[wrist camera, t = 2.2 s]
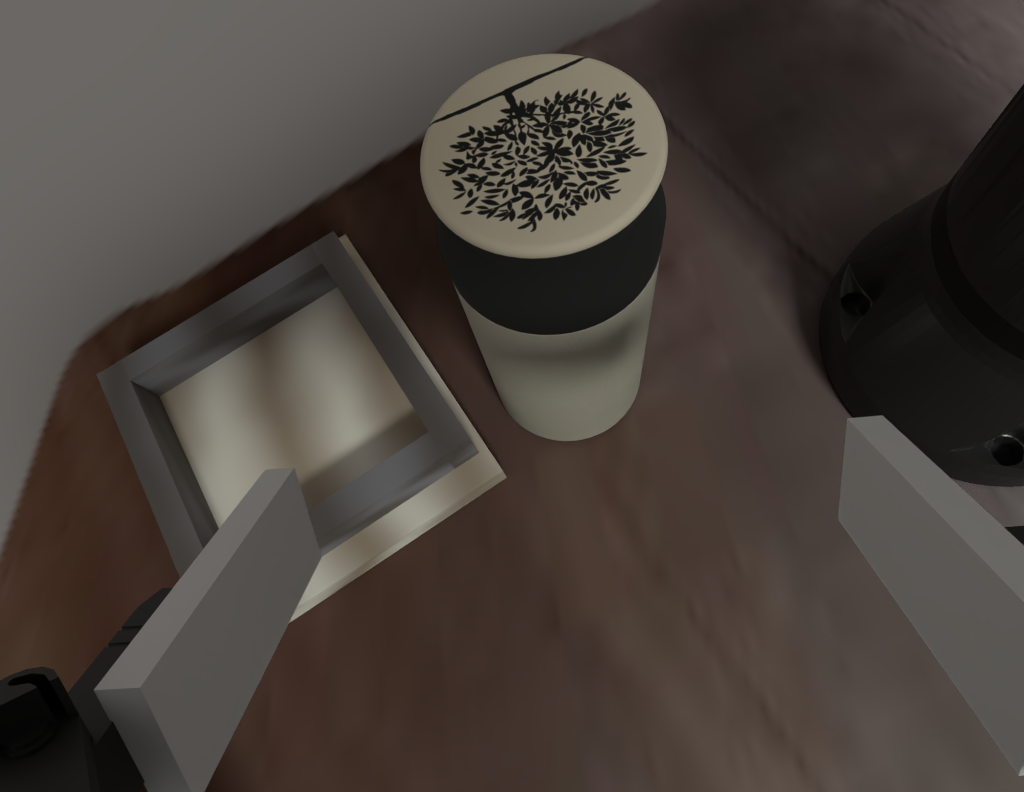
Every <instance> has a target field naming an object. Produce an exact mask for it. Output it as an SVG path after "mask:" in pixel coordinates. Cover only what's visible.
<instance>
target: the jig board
mask: <svg viewBox="0 0 1024 792" xmlns="http://www.w3.org/2000/svg"><path fill="white" fill-rule="evenodd" d="M97 377H98V379H99V382H100V384H101V386H102V389H103V391H104V394H105V396H106V399H107V401H108V404H109V406H110V408H111V411H112V413H113V416H114V418H115V421H116V423H117V425H118V428H119V430H120V433H121V435H122V438H123V440H124V443H125V445H126V447H127V450H128V452H129V455H130V457H131V460H132V462H133V464H134V467H135V469H136V472H137V474H138V477H139V479H140V482H141V484H142V486H143V489H144V491H145V494H146V496H147V499H148V501H149V503H150V506H151V508H152V511H153V513H154V516H155V518H156V520H157V523H158V525H159V528H160V530H161V533H162V535H163V538H164V540H165V542H166V545H167V547H168V550H169V552H170V555H171V557H172V559H173V562H174V564H175V567H176V569H177V572H178V574H179V577H180V578H181V577H182V576H183V575H184V573H185V572H186V571H187V569H188V568H189V567H190V566H191V564H192V563H193V562H194V560H195V559H196V558H197V557H198V555H199V554H200V553H201V551H202V550H203V549H204V548H205V546H206V545H207V544H208V542H209V541H210V540H211V539H212V537H213V536H214V535H215V533H216V532H217V531H218V530H219V528H220V527H221V526H222V524H223V523H224V522H225V521H226V519H227V518H228V517H229V515H230V514H231V513H232V512H233V510H234V509H235V508H236V506H237V505H238V504H239V503H240V501H241V500H242V499H243V497H244V496H245V495H246V494H247V492H248V491H249V490H250V488H251V487H252V486H253V485H254V483H255V482H256V481H257V479H258V478H259V477H260V476H261V474H262V473H263V472H264V470H268V469H279V468H291V467H295V470H296V474H297V477H298V480H299V484H300V487H301V490H302V494H303V497H304V500H305V503H306V507H307V510H308V513H309V517H310V520H311V523H312V527H313V530H314V533H315V536H316V540H317V543H318V546H319V550H320V553H321V556H322V558H321V560H320V562H319V564H318V566H317V568H316V570H315V572H314V574H313V576H312V578H311V580H310V582H309V584H308V586H307V588H306V590H305V592H304V594H303V596H302V598H301V600H300V602H299V604H298V606H297V608H296V610H295V612H294V614H293V616H292V618H291V620H290V622H291V621H293V620H294V619H296V618H297V617H299V616H300V615H302V614H303V613H305V612H306V611H308V610H309V609H311V608H312V607H314V606H315V605H317V604H318V603H320V602H321V601H323V600H324V599H326V598H327V597H329V596H330V595H332V594H333V593H335V592H336V591H338V590H339V589H341V588H342V587H344V586H345V585H347V584H348V583H350V582H351V581H353V580H354V579H356V578H357V577H359V576H360V575H362V574H363V573H365V572H366V571H368V570H369V569H371V568H372V567H374V566H375V565H377V564H378V563H380V562H381V561H383V560H384V559H386V558H387V557H389V556H390V555H392V554H393V553H395V552H396V551H398V550H399V549H401V548H402V547H404V546H405V545H407V544H408V543H410V542H411V541H413V540H414V539H416V538H417V537H419V536H420V535H422V534H423V533H425V532H426V531H428V530H429V529H431V528H432V527H434V526H435V525H437V524H438V523H440V522H441V521H443V520H444V519H445V518H447V517H448V516H450V515H451V514H453V513H454V512H456V511H457V510H459V509H460V508H462V507H463V506H465V505H466V504H468V503H469V502H471V501H472V500H474V499H475V498H477V497H478V496H480V495H481V494H483V493H484V492H486V491H487V490H489V489H490V488H492V487H493V486H495V485H496V484H498V483H499V482H501V481H502V480H504V479H505V478H507V477H506V476H505V474H504V472H503V470H502V469H501V467H500V466H499V464H498V463H497V461H496V460H495V458H494V457H493V455H492V454H491V452H490V451H489V449H488V448H487V446H486V445H485V443H484V442H483V440H482V439H481V437H480V436H479V434H478V433H477V431H476V430H475V428H474V427H473V425H472V424H471V422H470V421H469V419H468V418H467V416H466V415H465V413H464V412H463V410H462V409H461V407H460V406H459V404H458V403H457V401H456V400H455V398H454V397H453V395H452V394H451V392H450V391H449V389H448V388H447V386H446V385H445V383H444V382H443V380H442V379H441V377H440V376H439V374H438V373H437V371H436V370H435V368H434V367H433V365H432V364H431V362H430V361H429V359H428V358H427V356H426V355H425V353H424V352H423V350H422V349H421V347H420V346H419V344H418V343H417V341H416V340H415V338H414V337H413V335H412V334H411V332H410V331H409V329H408V328H407V326H406V325H405V323H404V322H403V320H402V319H401V317H400V316H399V314H398V313H397V311H396V310H395V308H394V307H393V305H392V304H391V302H390V301H389V299H388V298H387V296H386V295H385V293H384V292H383V290H382V289H381V287H380V286H379V284H378V283H377V281H376V280H375V278H374V277H373V275H372V274H371V272H370V271H369V269H368V268H367V266H366V265H365V263H364V262H363V260H362V259H361V257H360V256H359V254H358V253H357V251H356V250H355V248H354V247H353V245H352V243H351V242H350V240H349V239H348V237H347V236H346V234H345V235H343V236H342V237H340V238H338V237H337V235H336V234H335V232H334V231H332V232H331V233H329V234H327V235H326V236H324V237H323V238H321V239H319V240H318V241H316V242H314V243H313V244H311V245H309V246H308V247H306V248H304V249H303V250H301V251H299V252H298V253H296V254H295V255H293V256H291V257H290V258H288V259H286V260H285V261H283V262H281V263H280V264H278V265H276V266H275V267H273V268H271V269H270V270H268V271H267V272H265V273H263V274H262V275H260V276H258V277H257V278H255V279H253V280H252V281H250V282H248V283H247V284H245V285H243V286H242V287H240V288H238V289H237V290H235V291H234V292H232V293H230V294H229V295H227V296H225V297H224V298H222V299H220V300H219V301H217V302H215V303H214V304H212V305H210V306H209V307H207V308H206V309H204V310H202V311H201V312H199V313H197V314H196V315H194V316H192V317H191V318H189V319H187V320H186V321H184V322H182V323H181V324H179V325H178V326H176V327H174V328H173V329H171V330H169V331H168V332H166V333H164V334H163V335H161V336H159V337H158V338H156V339H154V340H153V341H151V342H150V343H148V344H146V345H145V346H143V347H141V348H140V349H138V350H136V351H135V352H133V353H131V354H130V355H128V356H126V357H125V358H123V359H121V360H120V361H118V362H117V363H115V364H113V365H112V366H110V367H108V368H107V369H105V370H103V371H102V372H100V373H98V374H97ZM290 622H289V623H290Z"/></svg>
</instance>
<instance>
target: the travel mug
mask: <svg viewBox="0 0 1024 792" xmlns="http://www.w3.org/2000/svg"><path fill="white" fill-rule="evenodd" d="M667 154H668V140H667V133H666V127H665V124H664V121H663V118H662V115H661V113H660V111H659V109H658V107H657V105H656V104H655V102H654V100H653V99H652V98H651V96H650V95H649V94H648V93H647V91H646V90H645V89H644V88H643V87H642V86H641V85H640V84H639V83H638V82H636V81H635V80H634V79H633V78H631V77H630V76H629V75H627V74H626V73H624V72H623V71H621V70H619V69H617V68H615V67H613V66H611V65H609V64H606V63H604V62H601V61H598V60H595V59H591V58H587V57H583V56H577V55H569V54H541V55H533V56H526V57H522V58H518V59H514V60H511V61H507V62H504V63H501V64H499V65H496V66H494V67H492V68H490V69H488V70H485V71H483V72H482V73H480V74H478V75H477V76H475V77H473V78H472V79H470V80H469V81H467V82H466V83H465V84H463V85H462V86H461V87H460V88H458V89H457V90H456V91H455V92H454V93H453V94H452V95H451V96H450V97H449V98H448V99H447V100H446V101H445V102H444V104H443V105H442V106H441V108H440V109H439V110H438V112H437V113H436V115H435V116H434V118H433V120H432V121H431V123H430V125H429V128H428V130H427V132H426V135H425V138H424V141H423V145H422V150H421V158H420V172H421V179H422V184H423V188H424V191H425V194H426V196H427V199H428V201H429V203H430V205H431V206H432V208H433V210H434V211H435V213H436V214H437V216H436V234H437V240H438V245H439V248H440V251H441V254H442V257H443V259H444V262H445V264H446V267H447V269H448V272H449V274H450V277H451V279H452V281H453V284H454V286H455V289H456V291H457V294H458V296H459V299H460V301H461V304H462V306H463V308H464V311H465V313H466V316H467V318H468V321H469V323H470V326H471V328H472V330H473V333H474V335H475V338H476V340H477V343H478V345H479V348H480V350H481V353H482V355H483V357H484V360H485V362H486V365H487V367H488V370H489V372H490V375H491V377H492V380H493V382H494V384H495V387H496V389H497V392H498V394H499V397H500V399H501V401H502V403H503V405H504V407H505V409H506V410H507V412H508V413H509V414H510V416H511V417H512V418H513V419H514V420H515V421H516V422H517V423H518V424H519V425H521V426H522V427H523V428H525V429H526V430H528V431H530V432H531V433H534V434H536V435H538V436H541V437H544V438H547V439H551V440H558V441H575V440H582V439H586V438H590V437H593V436H596V435H598V434H600V433H602V432H604V431H606V430H607V429H609V428H610V427H612V426H613V425H615V424H616V423H617V422H618V421H619V420H620V419H621V418H622V417H623V416H624V415H625V414H626V412H627V411H628V410H629V408H630V407H631V405H632V404H633V402H634V399H635V397H636V395H637V392H638V388H639V384H640V378H641V372H642V365H643V359H644V353H645V347H646V340H647V334H648V328H649V322H650V315H651V309H652V303H653V297H654V290H655V284H656V278H657V272H658V265H659V259H660V253H661V247H662V240H663V234H664V228H665V220H666V203H665V196H664V192H663V188H662V185H661V180H662V177H663V174H664V171H665V167H666V162H667Z"/></svg>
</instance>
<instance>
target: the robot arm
mask: <svg viewBox="0 0 1024 792" xmlns="http://www.w3.org/2000/svg"><path fill="white" fill-rule="evenodd" d="M819 331H820V345H821V351H822V356H823V360H824V364H825V367H826V370H827V372H828V375H829V378H830V380H831V382H832V384H833V386H834V388H835V390H836V392H837V393H838V395H839V397H840V398H841V400H842V401H843V403H844V404H845V406H846V407H847V408H848V410H849V411H850V412H851V414H852V415H853V416H854V417H855V418H847V426H846V437H845V448H844V459H843V470H842V481H841V491H840V502H839V513H838V520H839V521H840V523H841V524H842V526H843V527H844V528H845V530H846V531H847V533H848V534H849V536H850V537H851V538H852V540H853V541H854V543H855V544H856V545H857V547H858V548H859V550H860V551H861V553H862V554H863V555H864V557H865V558H866V560H867V561H868V563H869V564H870V565H871V567H872V568H873V570H874V571H875V572H876V574H877V575H878V577H879V578H880V580H881V581H882V582H883V584H884V585H885V587H886V588H887V589H888V591H889V592H890V594H891V595H892V597H893V598H894V599H895V601H896V602H897V604H898V605H899V607H900V608H901V609H902V611H903V612H904V614H905V615H906V616H907V618H908V619H909V621H910V622H911V624H912V625H913V626H914V628H915V629H916V631H917V632H918V633H919V635H920V636H921V638H922V639H923V641H924V642H925V643H926V645H927V646H928V648H929V649H930V651H931V652H932V653H933V655H934V656H935V658H936V659H937V660H938V662H939V663H940V665H941V666H942V668H943V669H944V670H945V672H946V673H947V675H948V676H949V677H950V679H951V680H952V682H953V683H954V685H955V686H956V687H957V689H958V690H959V692H960V693H961V695H962V696H963V697H964V699H965V700H966V702H967V703H968V704H969V706H970V707H971V709H972V710H973V712H974V713H975V714H976V716H977V717H978V719H979V720H980V722H981V723H982V724H983V726H984V727H985V729H986V730H987V731H988V733H989V734H990V736H991V737H992V739H993V740H994V741H995V743H996V744H997V746H998V747H999V748H1000V750H1001V751H1002V753H1003V754H1004V756H1005V757H1006V758H1007V760H1008V761H1009V763H1010V764H1011V766H1012V767H1013V768H1014V770H1015V771H1016V773H1017V774H1018V775H1019V776H1024V526H1015V527H1003V526H1002V525H1001V524H1000V523H999V522H998V521H997V520H995V519H994V518H993V517H992V516H991V515H990V514H989V513H988V512H987V511H986V510H985V509H984V508H982V507H981V506H980V505H979V504H978V503H977V502H976V501H975V500H974V499H973V498H972V497H970V496H969V495H968V494H967V493H966V492H965V491H964V490H963V489H962V488H961V487H960V486H959V485H957V484H956V483H955V482H954V481H953V480H952V479H951V478H953V479H956V480H960V481H964V482H969V483H974V484H980V485H988V486H1004V487H1014V486H1024V84H1023V86H1022V87H1021V88H1020V90H1019V91H1018V92H1017V94H1016V95H1015V96H1014V98H1013V99H1012V100H1011V101H1010V103H1009V104H1008V105H1007V107H1006V108H1005V109H1004V111H1003V112H1002V113H1001V115H1000V116H999V117H998V119H997V120H996V121H995V123H994V124H993V125H992V127H991V128H990V129H989V130H988V132H987V133H986V134H985V136H984V137H983V138H982V140H981V141H980V142H979V144H978V145H977V146H976V148H975V149H974V150H973V152H972V153H971V154H970V156H969V157H968V158H967V160H966V161H965V162H964V163H963V165H962V166H961V167H960V169H959V170H958V172H957V173H956V174H955V175H954V177H953V178H952V179H951V181H950V182H949V183H948V184H946V185H945V186H943V187H941V188H940V189H938V190H936V191H935V192H933V193H931V194H930V195H928V196H926V197H925V198H923V199H921V200H920V201H918V202H916V203H915V204H913V205H911V206H910V207H908V208H906V209H905V210H903V211H901V212H900V213H898V214H896V215H895V216H893V217H892V218H890V219H888V220H887V221H885V222H883V223H882V224H881V225H879V226H878V227H877V228H875V229H874V230H873V231H872V232H871V233H869V234H868V235H867V236H866V237H865V238H864V239H863V240H862V241H861V242H860V243H859V244H858V245H857V246H856V247H855V249H854V250H853V251H852V252H851V254H850V255H849V257H848V258H847V260H846V261H845V263H844V264H843V266H842V267H841V269H840V270H839V272H838V273H837V275H836V276H835V278H834V279H833V281H832V283H831V285H830V287H829V289H828V291H827V293H826V296H825V299H824V302H823V306H822V310H821V317H820V328H819ZM321 558H322V556H321V553H320V550H319V546H318V543H317V540H316V536H315V533H314V530H313V527H312V523H311V520H310V517H309V513H308V510H307V507H306V503H305V500H304V497H303V494H302V490H301V487H300V484H299V480H298V477H297V474H296V470H295V467H291V468H279V469H268V470H264V472H263V473H262V474H261V476H260V477H259V478H258V479H257V481H256V482H255V483H254V485H253V486H252V487H251V488H250V490H249V491H248V492H247V494H246V495H245V496H244V497H243V499H242V500H241V501H240V503H239V504H238V505H237V506H236V508H235V509H234V510H233V512H232V513H231V514H230V515H229V517H228V518H227V519H226V521H225V522H224V523H223V524H222V526H221V527H220V528H219V530H218V531H217V532H216V533H215V535H214V536H213V537H212V539H211V540H210V541H209V542H208V544H207V545H206V546H205V548H204V549H203V550H202V551H201V553H200V554H199V555H198V557H197V558H196V559H195V560H194V562H193V563H192V564H191V566H190V567H189V568H188V569H187V571H186V572H185V573H184V575H183V576H182V577H181V578H180V580H179V581H178V582H177V584H176V585H175V586H174V587H173V588H163V589H161V590H159V591H158V592H157V593H156V594H154V595H153V596H152V597H150V598H149V599H148V600H146V601H145V602H144V603H143V604H141V605H140V606H139V607H138V608H137V609H136V610H135V611H134V613H133V614H132V615H131V616H130V618H129V619H128V620H127V621H126V622H125V624H124V625H123V626H122V630H121V631H118V632H117V633H116V635H115V636H114V637H113V638H112V640H111V641H110V642H109V643H108V644H109V646H108V647H107V648H104V649H103V651H102V652H101V653H100V654H99V655H98V657H97V658H96V659H95V660H94V662H93V663H92V664H91V665H90V666H89V668H88V669H87V670H86V671H85V673H84V674H83V675H82V676H81V678H80V679H79V680H78V681H77V682H76V684H75V685H74V686H73V687H72V689H71V690H70V691H69V692H68V693H67V691H66V689H65V688H64V686H63V684H62V682H61V680H60V679H59V677H58V675H57V674H56V672H55V671H54V669H50V668H45V667H39V668H32V669H26V670H23V671H21V672H18V673H15V674H13V675H10V676H8V677H6V678H4V679H2V680H1V681H0V792H139V790H140V789H141V787H142V785H143V784H144V786H145V787H146V789H147V791H148V792H204V791H205V789H206V787H207V785H208V783H209V781H210V779H211V777H212V775H213V773H214V771H215V769H216V768H217V766H218V764H219V762H220V760H221V758H222V756H223V754H224V752H225V750H226V748H227V746H228V744H229V742H230V740H231V738H232V736H233V734H234V732H235V730H236V728H237V726H238V724H239V722H240V720H241V718H242V716H243V714H244V712H245V710H246V708H247V706H248V704H249V702H250V700H251V698H252V696H253V694H254V692H255V690H256V688H257V686H258V684H259V682H260V680H261V678H262V676H263V674H264V672H265V670H266V668H267V666H268V664H269V662H270V660H271V658H272V656H273V654H274V652H275V650H276V648H277V646H278V644H279V642H280V640H281V638H282V636H283V634H284V632H285V630H286V628H287V626H288V624H289V622H290V620H291V618H292V616H293V614H294V612H295V610H296V608H297V606H298V604H299V602H300V600H301V598H302V596H303V594H304V592H305V590H306V588H307V586H308V584H309V582H310V580H311V578H312V576H313V574H314V572H315V570H316V568H317V566H318V564H319V562H320V560H321Z"/></svg>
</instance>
